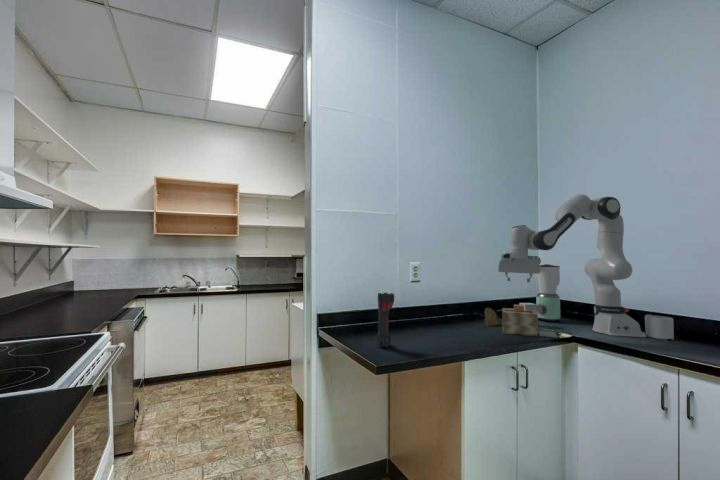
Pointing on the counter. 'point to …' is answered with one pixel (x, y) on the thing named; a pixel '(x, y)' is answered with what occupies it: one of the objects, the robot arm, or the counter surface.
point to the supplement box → (530, 307)
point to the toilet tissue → (659, 327)
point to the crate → (519, 322)
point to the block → (518, 308)
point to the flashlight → (384, 319)
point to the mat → (547, 334)
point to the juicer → (548, 293)
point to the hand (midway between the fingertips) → (518, 281)
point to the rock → (491, 317)
